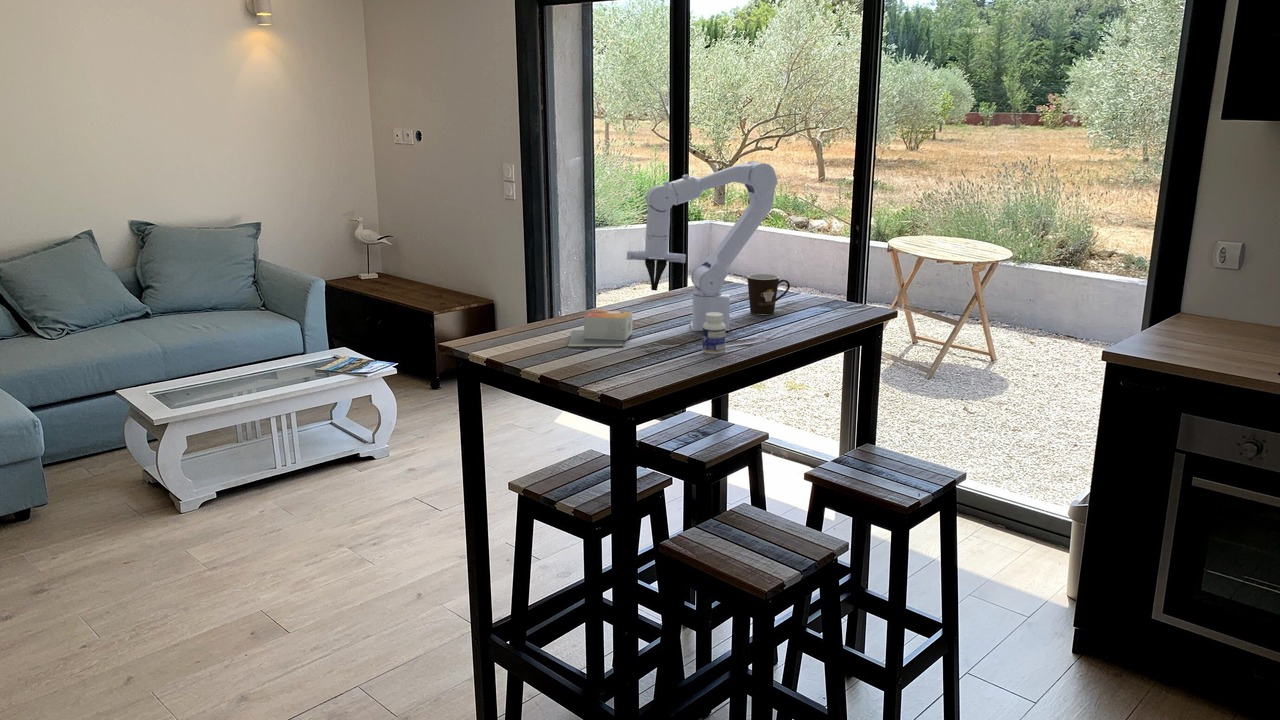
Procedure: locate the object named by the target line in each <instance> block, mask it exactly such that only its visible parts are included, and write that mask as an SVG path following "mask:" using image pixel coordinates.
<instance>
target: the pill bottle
mask: <svg viewBox="0 0 1280 720" xmlns="http://www.w3.org/2000/svg"><path fill="white" fill-rule="evenodd" d="M706 321H707V322H706V323H704V324H703V331H702V352H704V353H705V354H709V355H717V354H719V355H720V354H723V353H725V351H726V331H725V330H726V326H725V324H724V323H723V322H722V321H723V314H722V313H718V312H710V313H706Z"/></svg>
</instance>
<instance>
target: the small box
mask: <svg viewBox="0 0 1280 720" xmlns="http://www.w3.org/2000/svg"><path fill="white" fill-rule="evenodd" d="M583 325H584V326H583V330H584V338H585V339H601V340H624V341H627V340H628V338H629V337H630V336H631V335H632V333H633V312H632V311H619V310H598V309H597V310H596V309H595V310H593V309H592V310H590V311H589V312H588V313H587V314H586V315H584V316H583Z"/></svg>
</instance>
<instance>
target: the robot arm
mask: <svg viewBox="0 0 1280 720" xmlns="http://www.w3.org/2000/svg"><path fill="white" fill-rule="evenodd" d="M681 177H682V178H679V179H676V180H672V181H670V182H669V181H668V180H667V181H666V180H665V181H664V182H663V185H660V184H659V185H653V186H651V187H650V189H648V191H647V193H646V196H645V201H646V204H647V205H648V206H647V215H646V225H645V226H646V227H645V229H646V230H645V243H644V244H645V245H644V250H639V251H637V250H627V251H626V260H627V261H631V260H633V261H635V260H636V261H644V263H645V267H646V269H647V272H648V276H649V280H650V289H651V291H658V287H659V282H660V280H661V278H662V275H663V273H664V271H665V268H667V265H668V264H667V262H671V263H681V264H685V263H686V259H687V258H686V257H687V255H686V254H685V253H674V252H669V241H670V240H669V239H670V226H671V225H670V224H671V208H672V207H673V205H674V206H678V205H680V204H684V203H687V202H689V201H693V200H696V199H699V198H700V197H701V195H702V194H703V192H704V191H707V190H710V189H713V188H717V187H722V186H724V185H727V184H731V183H738V184H743V185H744V187H745V188H746V190H747V193H748V199H749V204H748V206H747V207H746V208H745V210H743V212H742V213H741V215H740V217H739V218H738V219H737V220H736V222H735V223H734V224H733V226H732V227H731V228H730V230H729V231H728V233H727V234H726V235H725V237H724V238H723V239H722V241H721V242H720V243H719V245H718V246H717V248H716V249H715V251H713V253H712V254H711V255H709V256H708V257H707V258H705V260H704V261H703V262H702V263H700V264H699V265H697V266H696V267H695V268H693V270H692V271H691V276H690V279H691V282H692V284H693V286H695V287H694V289H693V290H692V318H691V319H692V320H691V322H689V326H690V330H691V332H692V331H693V332H703V324H704V323H706V322H707V321H706V313H710V312H718V313H722V314H723V321H722V322H723V323H724V324H725V326H726V330H725V332H727V331H730V321H731V317H730V308H731V307H730V294H729V293H722V289H723V287H724V281H725V279H726V278H727V276H728V275H729V270H730V266H731V264H732V263H733V262H734V260H735V259H736V258H737V256H738V255H739V254H740V252H741V251H742V250H743V249H744V247H745V245H746V244H748V242H749V240H750V239H751V238H752V235H753V234H755V232H756V231H757V229H758V228H759V227H760V225H761V224H762V222H763V221H764V220H765V218H766V217H767V215H768V214H769V213H770V211H771V210H772V208H773V205H774V200H775V199H774V197H775V192H776V191H775V190H776V186H777V184H778V179H777V175H776V171H775V169H774V168H773V166H772V165H770V164H768V163H764V162H759V161H756V160H751V161H749V162H746V163H745V162H744V163H739V164H735V165H732V166H728V167H726V168H724V169H721V170H717V171H715V172H712V173H710V174H707V175H704V176H702V177H697V176H695V175H694V174H690V175H689V174H683V175H682V176H681Z"/></svg>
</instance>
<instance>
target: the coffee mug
mask: <svg viewBox="0 0 1280 720" xmlns="http://www.w3.org/2000/svg"><path fill="white" fill-rule="evenodd" d="M746 279H747V289H748V300H749V311H750V312H751V313H754V314H772V313H774V314H775V309H776V302H778V301H779V300H780V299H781V298H783V297H784V296H785V295H786V294H787V293H788V292H789V290H790V287H791V286H790V282H789V280H786V279H780V276H779V275H776V274H770V273H752V274H748V275H747V276H746ZM783 282H785V284H786V285H787V287H786V289H785V291H784V292H782V294H780V295H779V296H778V297H777V295H778V288H779V285H780V284H781V283H783ZM751 313H750V314H751ZM754 314H753V315H754ZM772 315H773V314H772Z"/></svg>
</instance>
